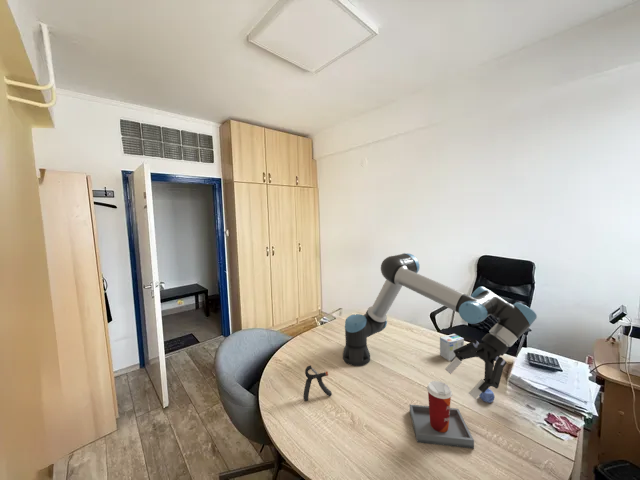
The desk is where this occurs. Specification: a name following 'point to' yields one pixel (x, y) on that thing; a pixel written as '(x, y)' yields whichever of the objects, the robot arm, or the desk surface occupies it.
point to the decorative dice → (487, 396)
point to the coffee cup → (439, 405)
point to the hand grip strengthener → (319, 379)
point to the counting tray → (453, 437)
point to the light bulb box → (450, 345)
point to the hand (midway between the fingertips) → (458, 383)
